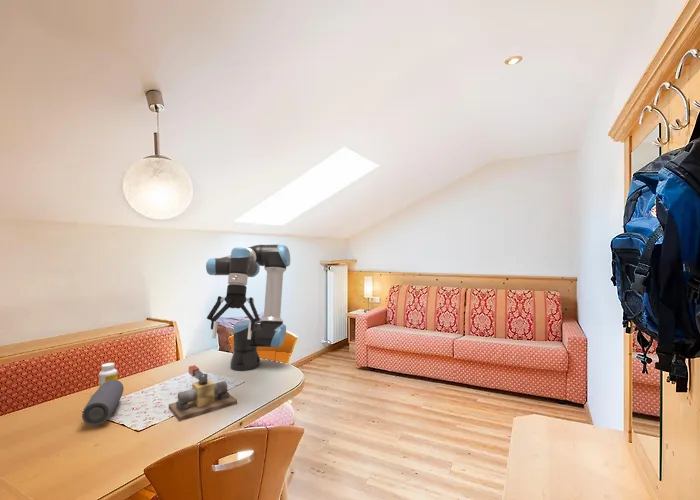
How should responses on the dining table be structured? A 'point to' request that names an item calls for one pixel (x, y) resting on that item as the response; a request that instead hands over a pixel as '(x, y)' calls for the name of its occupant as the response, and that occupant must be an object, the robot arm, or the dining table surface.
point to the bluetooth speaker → (103, 403)
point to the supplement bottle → (107, 373)
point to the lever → (198, 374)
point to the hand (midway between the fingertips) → (231, 339)
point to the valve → (202, 400)
